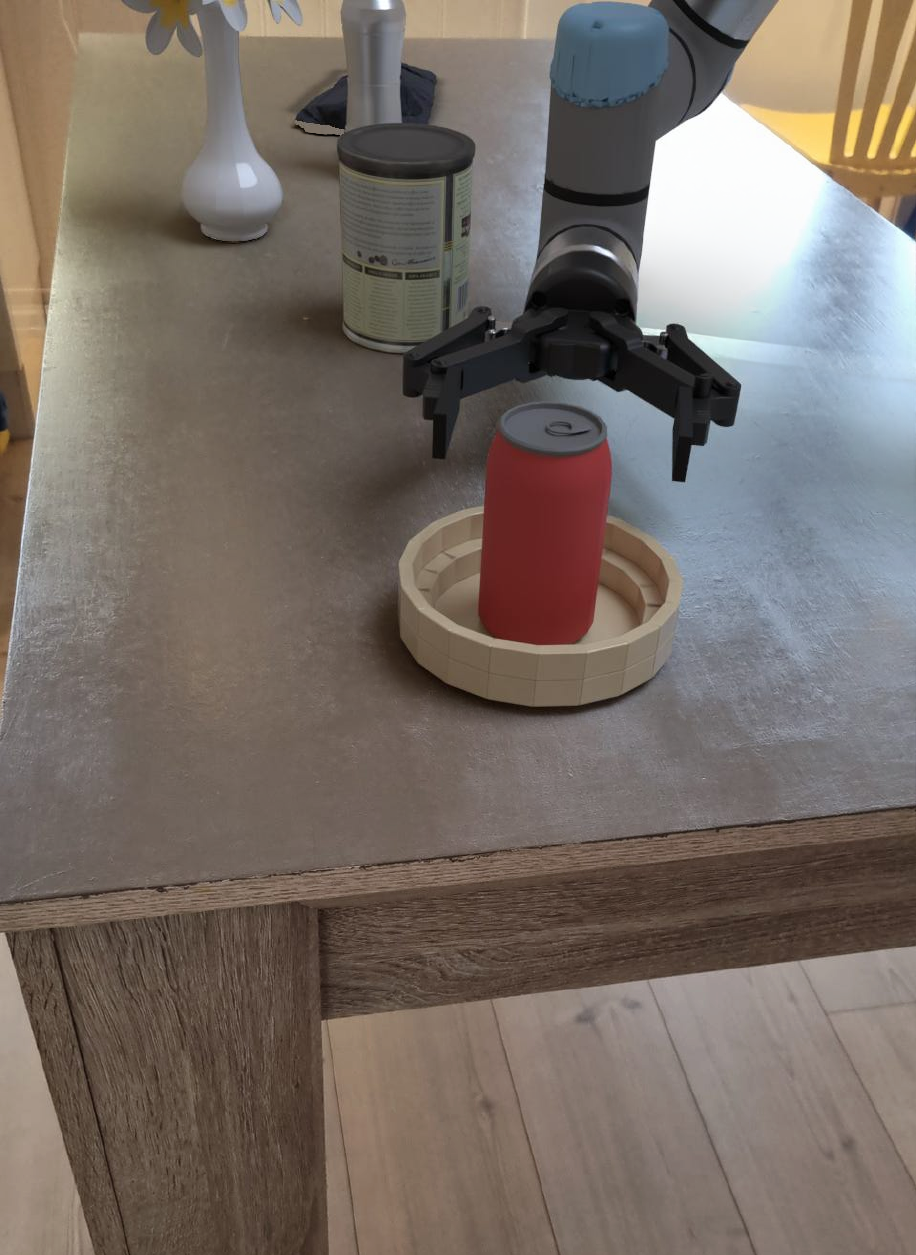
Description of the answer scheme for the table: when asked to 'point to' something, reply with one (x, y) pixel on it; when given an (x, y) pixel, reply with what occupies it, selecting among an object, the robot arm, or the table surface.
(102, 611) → the table surface
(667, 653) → the bowl
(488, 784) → the table surface
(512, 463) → the beer can
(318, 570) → the table surface
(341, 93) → the dark blue folded cloth
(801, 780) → the table surface
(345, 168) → the coffee can
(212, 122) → the flower vase
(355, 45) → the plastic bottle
